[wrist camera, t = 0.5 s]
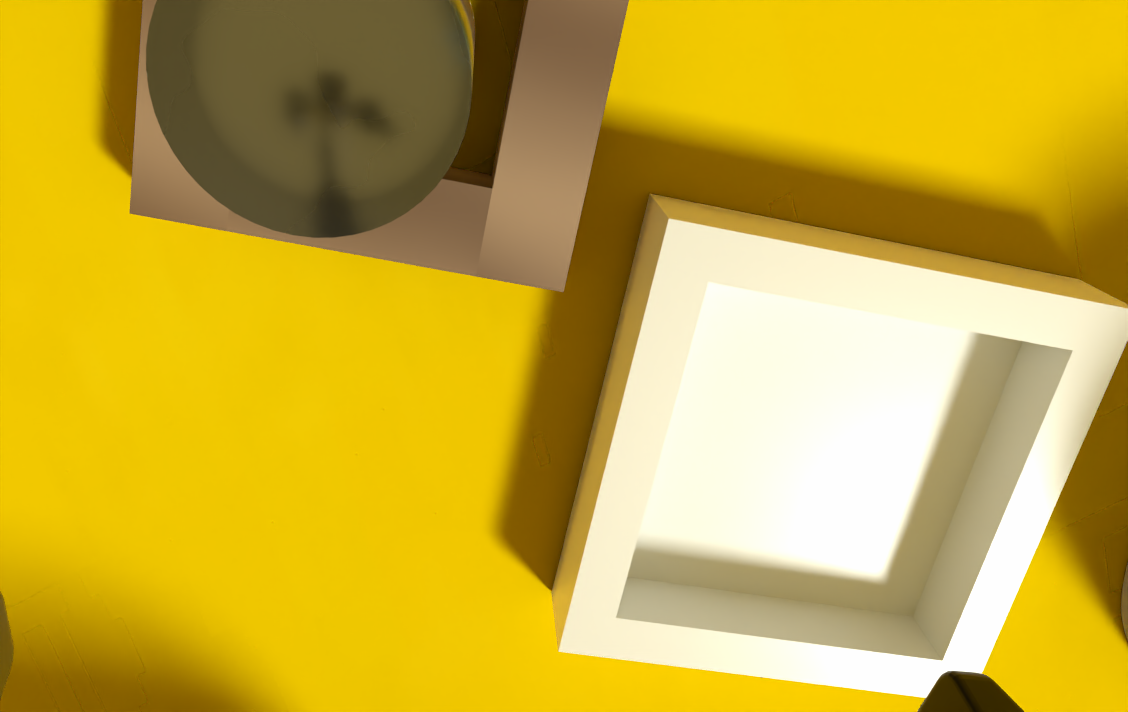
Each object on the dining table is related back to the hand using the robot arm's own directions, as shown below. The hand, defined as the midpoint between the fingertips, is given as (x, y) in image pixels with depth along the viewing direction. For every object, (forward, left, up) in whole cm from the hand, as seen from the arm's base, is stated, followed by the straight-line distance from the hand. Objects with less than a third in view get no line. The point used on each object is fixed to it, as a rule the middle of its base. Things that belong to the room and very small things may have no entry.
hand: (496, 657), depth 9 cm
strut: (+4, +3, -15) cm, 16 cm away
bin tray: (-4, -9, -15) cm, 18 cm away
